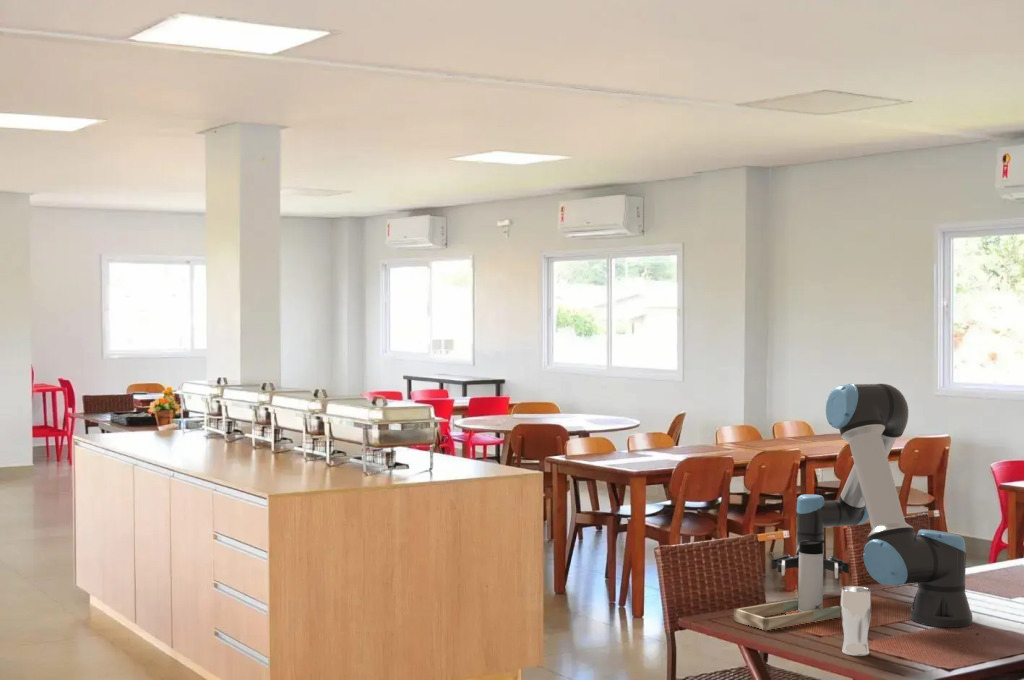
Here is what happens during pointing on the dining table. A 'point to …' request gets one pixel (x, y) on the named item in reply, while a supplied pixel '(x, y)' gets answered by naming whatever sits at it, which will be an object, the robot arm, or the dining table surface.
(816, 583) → the travel mug
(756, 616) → the bay
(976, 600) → the dining table surface
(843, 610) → the beer glass
